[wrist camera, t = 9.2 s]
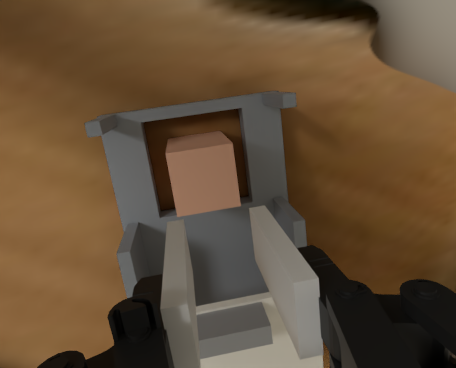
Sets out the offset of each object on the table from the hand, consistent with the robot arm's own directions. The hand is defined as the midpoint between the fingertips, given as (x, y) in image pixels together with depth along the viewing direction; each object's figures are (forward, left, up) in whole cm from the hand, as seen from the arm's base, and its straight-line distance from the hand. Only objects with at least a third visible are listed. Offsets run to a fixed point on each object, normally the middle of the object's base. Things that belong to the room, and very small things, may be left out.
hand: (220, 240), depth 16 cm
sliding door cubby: (+5, 0, -19) cm, 19 cm away
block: (0, 0, -19) cm, 19 cm away
